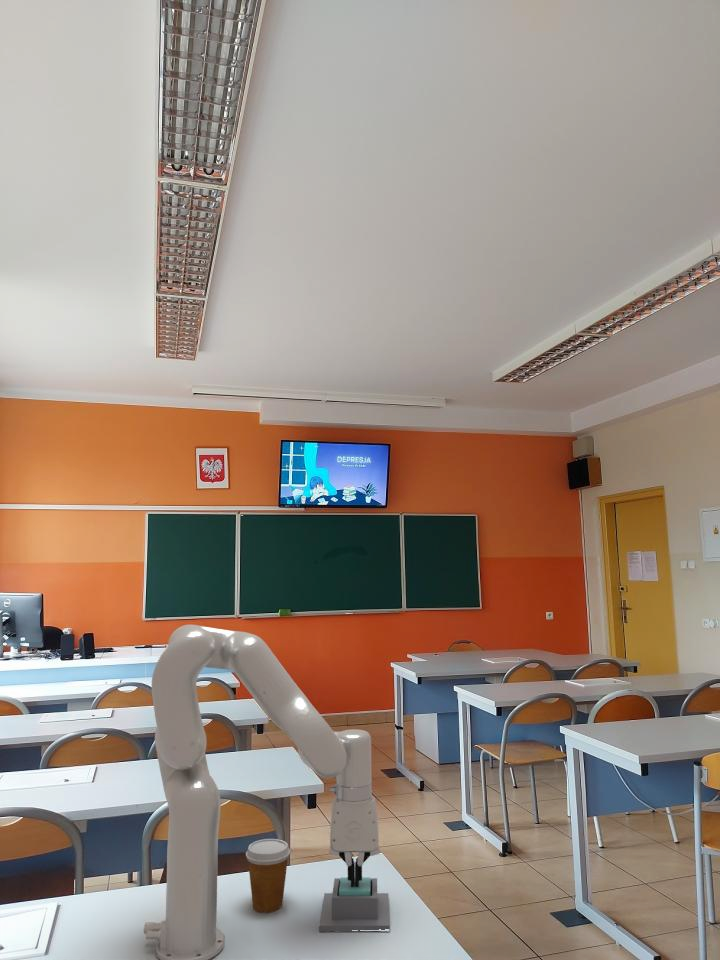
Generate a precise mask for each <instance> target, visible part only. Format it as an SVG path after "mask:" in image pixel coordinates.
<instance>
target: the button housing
mask: <svg viewBox="0 0 720 960" xmlns="http://www.w3.org/2000/svg"><path fill="white" fill-rule="evenodd" d="M341 878H342V877H340V878H338V877H337V878H336V877H335V878H334V881H333V887H332V893H331V892H330V893H329V892H327V893H326V892H325V893H324V892H323V893H324V894H323V899H322V906H321V910H320V911H321V912H320V918H319V924H318V932H319V933H322V932H321V931H326V932H325V933H329V932H328V931H352V930H358V931H360V930H379V929H381V930H385V929H391V928H390V927H391V926H390V904H389V903H390V902H389V900H390V899H389V893H387V892H386V893H385V892H378V878H374V877H373V878H371V896H339V887H340V879H341Z"/></svg>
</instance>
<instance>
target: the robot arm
mask: <svg viewBox="0 0 720 960" xmlns="http://www.w3.org/2000/svg"><path fill="white" fill-rule="evenodd" d="M204 668H209V669H217V670H226V671H233V672H234V674H235V676H237V678H238V679H239V681H240V682H241V683H242V684H243V686H244V687H245V689H247V691H248V692H249V694H250V695H251V696H252V698H253V699H254V700H255V701H256V703H257V704H258V706H259V707H260V709H261V711H263V713H264V714H265V715H266V716H267V717H268V718H269V720H270V721H272V723H274V724H275V725H276V726H277V727H278V728H280V730H282V731H283V733H284V734H286V736H287V737H288V738H289V739H290V740H291V742H293V744H294V745H295V746H296V747H297V749H298V755H299V758H300V759H301V761H302V763H303V764H305V765H306V766H307V767H308V768H309V769H311V770H312V771H313V772H314V773H315V774H317V775H318V776H319V777H321V778H325V779H332V778H336V783H335V784H334V785H333V784H332V785H330V786H329V793H331V794H332V793H333V794H334V795H335V796H334V797H333V799H332V805H331V812H330V831H329V843H330V844H329V849H328V850H329V851H328V853H329V854H330V855H333V856H336V857H339V858H341V860H342V861H343V862H344V863H345V865H346V867H347V878H348V881H351V887H353V886H354V884H355V886H356V887H359V881H362V878H363V865H364V864H365V862H366V861H367V860H368V859H369V858H370V857H373V856H377V855H379V854H381V848H380V844H379V841H380V839H379V838H380V837H379V835H380V834H379V817H378V816H379V815H378V807H377V803H376V798H375V796H373V795H372V793H373V792H372V791H373V786H372V784H373V783H372V781H373V780H372V736H371V734H370V733H369V732H368V731H367V730H363V729H356V728H355V729H352V728H351V729H345V730H342V731H334V730H333V729H332V728H331V726H330V725H329V724H328V722H327V721H326V720H325V718H324V717H323V716H322V714H320V712H319V711H318V710H317V709H316V708H315V707H314V705H313V704H312V702H310V700H309V699H308V697H307V696H306V694H304V692H303V691H302V690H301V689H300V687H299V686H298V684H297V683H296V682H295V681H294V679H293V678H292V677H291V676H290V674H289V673H288V672H287V670H286V669H285V668H284V667H283V665H282V664H281V662H280V661H279V659H278V658H277V657H276V655H275V654H274V653H273V651H272V649H271V648H270V647H269V646H268V644H267V643H266V642H265V640H263V639H262V638H261V637H260V636H258V635H256V634H253V633H251V632H250V633H249V632H246V631H238V630H230V629H222V628H217V627H216V628H215V627H211V626H210V627H208V626H205V625H204V626H203V625H197V624H184V625H182V626H179V627H178V628H176V629H175V630H174V631H173V632H172V633H171V635H170V636H169V639H168V644H167V647H166V648H165V649H164V651H163V652H162V654H161V655H160V657H159V658H158V660H157V662H156V664H155V666H154V669H153V672H152V676H151V695H152V704H153V710H154V711H153V712H154V719H155V723H156V729H155V734H154V744H155V745H154V746H155V750H156V757H157V761H158V766H159V772H160V775H161V776H160V777H161V782H162V787H163V792H164V796H165V799H166V802H167V803H166V804H167V806H168V834H167V837H168V838H167V851H166V852H167V853H166V892H165V894H166V895H165V897H166V899H165V901H166V902H165V920H161V921H160V922H156V921H155V922H154V921H153V922H145V923H144V925H143V926H144V927H143V934H144V935H145V940H157V943H156V946H155V947H156V948H155V950H156V951H155V953H156V956H157V958H158V959H159V960H211V959H212V958H214V957H215V956H217V955H218V954H220V952H221V951H222V950H223V948H224V946H225V935H224V932H222V930H220V929H219V928H217V920H218V919H217V915H218V913H217V912H218V911H217V909H218V905H217V903H218V864H219V863H218V848H219V846H218V844H219V826H220V820H221V819H220V817H221V809H222V808H221V805H222V803H221V796H220V795H221V794H220V791H219V788H218V786H217V784H216V782H215V780H214V778H213V777H212V776H211V775H210V770H209V766H208V759H207V757H206V750H207V744H208V743H207V741H208V740H207V733H206V731H205V727H204V724H203V720H202V715H201V710H200V705H199V704H200V703H199V697H198V691H197V681H198V677H199V675H200V673H201V672H202V670H203V669H204ZM353 853H357V858H356V859H355V860H354V858H353Z"/></svg>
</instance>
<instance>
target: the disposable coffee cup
mask: <svg viewBox="0 0 720 960" xmlns="http://www.w3.org/2000/svg"><path fill="white" fill-rule="evenodd" d="M290 854H291V850H290V848H289V844H288V843H287V842H286V841H284V840H283V839H282V840H281V839H278V838H264V839H259V840H256V841H254V842H252V843H250V844H249V845H248V848H247V851H246V852H245V857H246V860H247V861H248V873H249V880H250V881H249V882H250V891H251V892H250V893H251V903H252V908H253V910H254V911H256V912H259V913H267V914H268V913H273V912H276V911H278V910H280V909H281V908H282V907H283V903H284V896H285V895H284V893H285V887H286V886H285V885H286V877H287V876H286V875H287V869H288V868H287V867H288V860H289V856H290Z"/></svg>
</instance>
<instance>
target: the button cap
mask: <svg viewBox="0 0 720 960" xmlns="http://www.w3.org/2000/svg"><path fill="white" fill-rule="evenodd" d="M340 878H341V879H340V887H339V896H371V877H363V876H362V881H359V887H356V886H355V884H354V886H353V887H351V881H348V877H340Z"/></svg>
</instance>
